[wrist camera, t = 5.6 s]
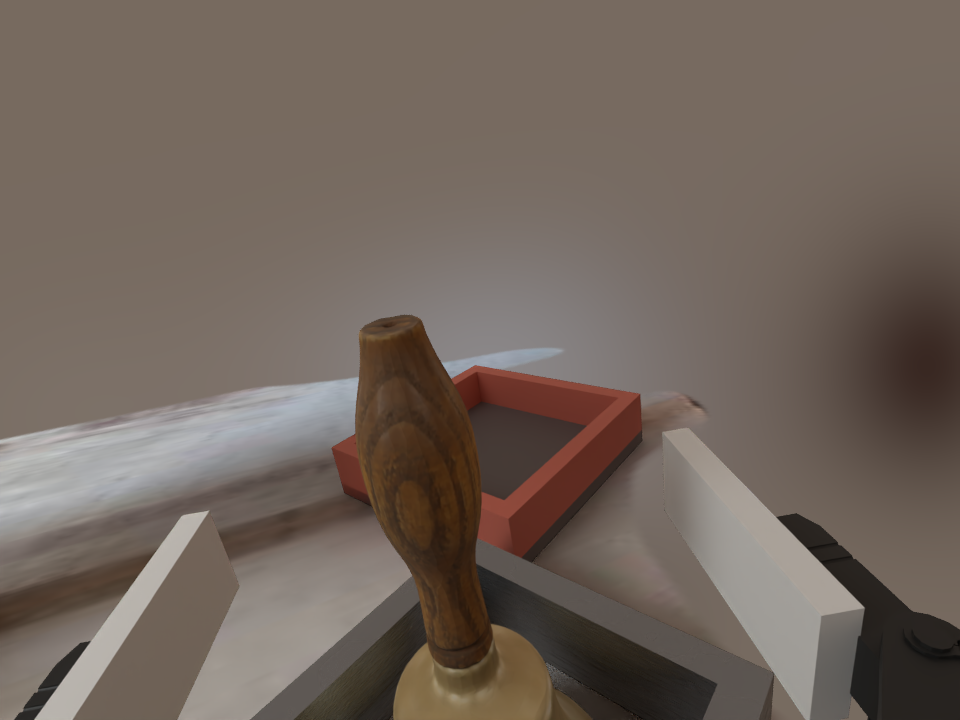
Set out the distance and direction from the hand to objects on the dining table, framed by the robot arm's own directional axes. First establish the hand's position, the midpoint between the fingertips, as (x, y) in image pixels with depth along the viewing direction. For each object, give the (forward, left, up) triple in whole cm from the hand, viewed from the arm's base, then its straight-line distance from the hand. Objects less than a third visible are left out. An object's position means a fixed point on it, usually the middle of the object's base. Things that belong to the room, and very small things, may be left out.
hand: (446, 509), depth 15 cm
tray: (-10, +13, -9) cm, 19 cm away
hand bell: (+2, -2, -10) cm, 10 cm away
